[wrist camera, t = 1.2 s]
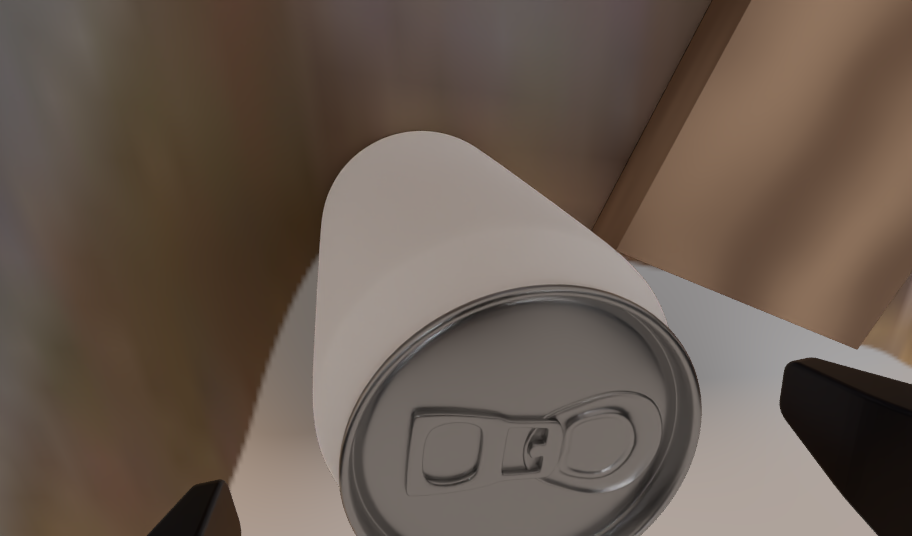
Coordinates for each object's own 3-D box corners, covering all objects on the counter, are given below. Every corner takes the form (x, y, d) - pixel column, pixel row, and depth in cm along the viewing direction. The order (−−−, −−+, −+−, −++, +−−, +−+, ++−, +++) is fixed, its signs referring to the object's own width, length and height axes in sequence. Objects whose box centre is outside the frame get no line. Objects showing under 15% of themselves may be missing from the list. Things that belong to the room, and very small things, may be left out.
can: (497, 312, 21) (673, 598, 10) (318, 310, 20) (302, 640, 9) (522, 136, 19) (781, 263, 8) (323, 119, 18) (310, 247, 7)
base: (999, 56, 22) (1061, 57, 20) (818, 326, 25) (857, 349, 23) (771, -114, 18) (822, -132, 16) (590, 232, 21) (615, 250, 19)
